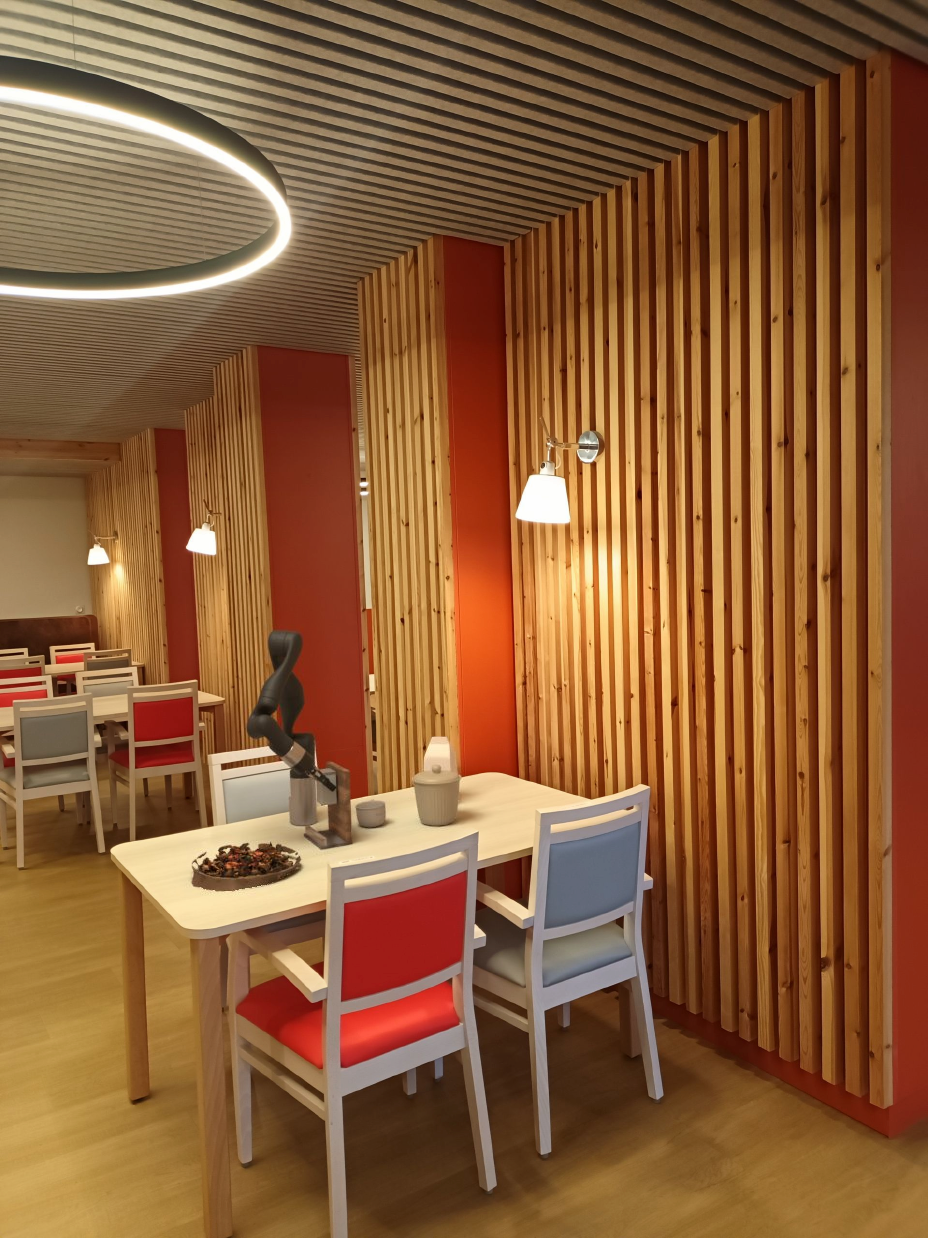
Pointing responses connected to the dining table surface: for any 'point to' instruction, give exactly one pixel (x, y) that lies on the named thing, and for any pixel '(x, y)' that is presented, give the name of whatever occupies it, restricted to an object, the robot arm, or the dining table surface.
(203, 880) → the food dish
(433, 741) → the milk
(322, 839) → the wall board
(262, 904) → the dining table surface
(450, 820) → the canister
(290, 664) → the robot arm
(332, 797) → the grey box
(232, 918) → the dining table surface
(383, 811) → the teacup
